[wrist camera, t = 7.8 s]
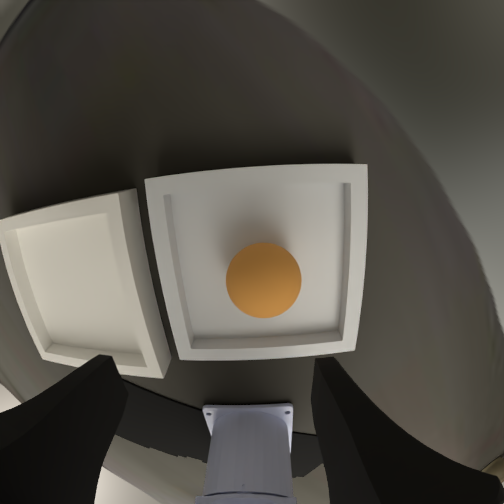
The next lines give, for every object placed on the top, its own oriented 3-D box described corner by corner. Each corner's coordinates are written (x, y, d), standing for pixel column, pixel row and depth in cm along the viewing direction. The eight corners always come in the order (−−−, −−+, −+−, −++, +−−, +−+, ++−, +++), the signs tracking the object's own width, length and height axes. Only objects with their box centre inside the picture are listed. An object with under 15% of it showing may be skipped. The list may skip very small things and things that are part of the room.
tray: (347, 334, 19) (354, 350, 17) (186, 343, 19) (179, 359, 18) (355, 163, 15) (367, 164, 13) (157, 176, 16) (144, 179, 14)
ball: (295, 294, 17) (307, 329, 13) (231, 299, 17) (227, 335, 13) (294, 232, 16) (308, 253, 12) (225, 237, 16) (218, 259, 12)
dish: (171, 357, 20) (163, 378, 18) (55, 344, 20) (42, 359, 18) (136, 188, 16) (118, 192, 14) (15, 214, 16) (-5, 221, 14)
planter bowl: (489, 468, 42) (497, 486, 32) (463, 483, 42) (472, 503, 32) (514, 443, 37) (525, 462, 27) (491, 459, 37) (502, 480, 27)
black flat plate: (119, 378, 21) (382, 440, 24) (121, 375, 22) (381, 437, 25) (115, 434, 25) (327, 481, 28) (116, 431, 25) (327, 479, 28)
